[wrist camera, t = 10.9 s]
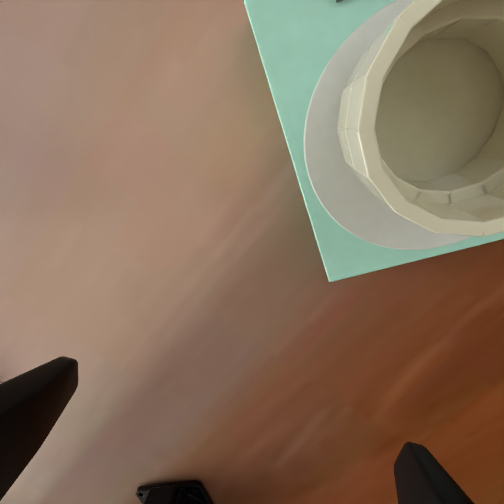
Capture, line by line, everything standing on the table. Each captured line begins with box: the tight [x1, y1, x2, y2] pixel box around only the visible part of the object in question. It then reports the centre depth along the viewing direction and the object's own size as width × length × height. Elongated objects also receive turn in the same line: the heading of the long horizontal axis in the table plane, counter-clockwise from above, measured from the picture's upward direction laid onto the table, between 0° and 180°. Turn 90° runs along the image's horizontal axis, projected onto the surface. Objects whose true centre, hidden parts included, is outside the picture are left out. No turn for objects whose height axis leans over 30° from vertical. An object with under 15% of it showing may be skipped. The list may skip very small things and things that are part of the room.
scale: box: [244, 0, 504, 282], centre depth 14 cm, size 13×11×3 cm
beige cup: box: [338, 0, 504, 237], centre depth 10 cm, size 7×7×5 cm
